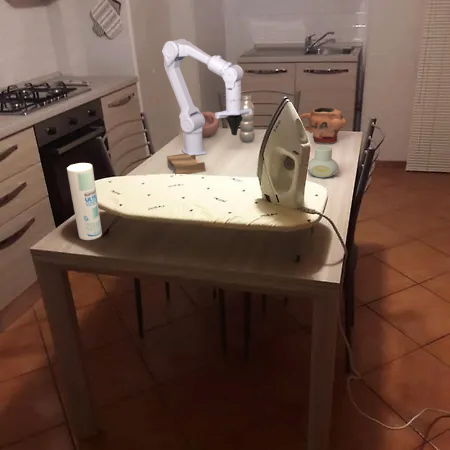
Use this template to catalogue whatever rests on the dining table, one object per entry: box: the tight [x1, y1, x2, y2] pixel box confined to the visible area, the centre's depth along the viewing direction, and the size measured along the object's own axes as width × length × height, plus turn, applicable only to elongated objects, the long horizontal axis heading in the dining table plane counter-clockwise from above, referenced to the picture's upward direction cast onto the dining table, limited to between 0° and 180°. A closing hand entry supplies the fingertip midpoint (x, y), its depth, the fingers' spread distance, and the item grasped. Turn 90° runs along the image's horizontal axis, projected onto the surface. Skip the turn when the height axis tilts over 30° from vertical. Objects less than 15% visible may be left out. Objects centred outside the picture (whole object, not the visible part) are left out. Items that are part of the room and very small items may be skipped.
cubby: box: [166, 153, 206, 175], centre depth 188 cm, size 11×11×4 cm
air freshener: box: [307, 145, 339, 179], centre depth 176 cm, size 11×8×10 cm
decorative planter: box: [299, 107, 347, 145], centre depth 213 cm, size 20×12×14 cm, turn 78°
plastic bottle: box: [238, 93, 256, 143], centre depth 215 cm, size 6×7×20 cm
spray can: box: [66, 162, 103, 241], centre depth 136 cm, size 6×6×20 cm
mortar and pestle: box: [200, 111, 220, 138], centre depth 226 cm, size 12×12×12 cm
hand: (234, 134), depth 195 cm, fingers closed
